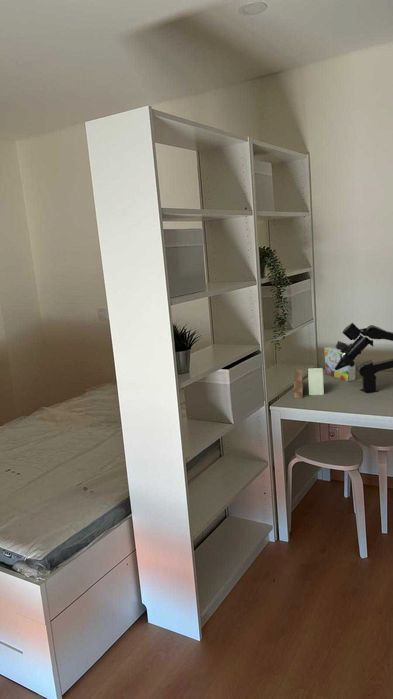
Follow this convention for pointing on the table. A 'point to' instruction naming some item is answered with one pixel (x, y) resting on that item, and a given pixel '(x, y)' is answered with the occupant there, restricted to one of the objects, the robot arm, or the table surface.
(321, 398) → the table surface
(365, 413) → the table surface
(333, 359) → the snack box
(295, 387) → the backstop board
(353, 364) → the robot arm
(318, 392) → the green block
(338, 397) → the table surface
